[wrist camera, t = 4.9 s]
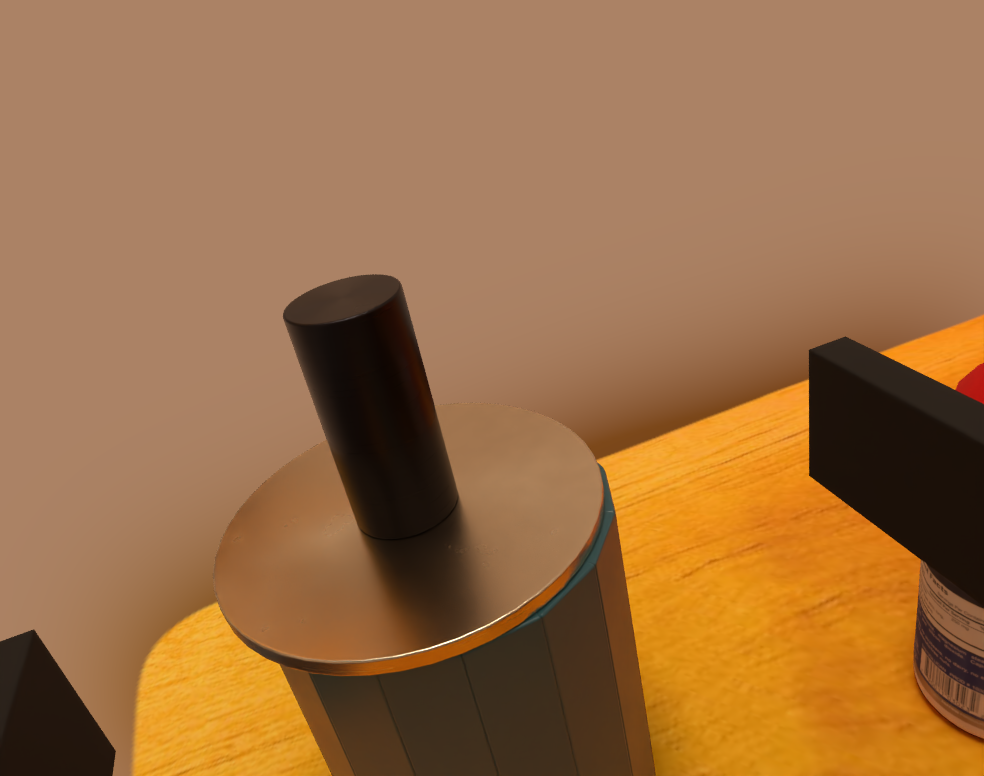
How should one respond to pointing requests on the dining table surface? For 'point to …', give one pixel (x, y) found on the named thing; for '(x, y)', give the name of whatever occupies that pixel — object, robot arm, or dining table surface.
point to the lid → (400, 506)
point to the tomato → (973, 384)
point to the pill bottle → (950, 650)
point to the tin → (503, 694)
